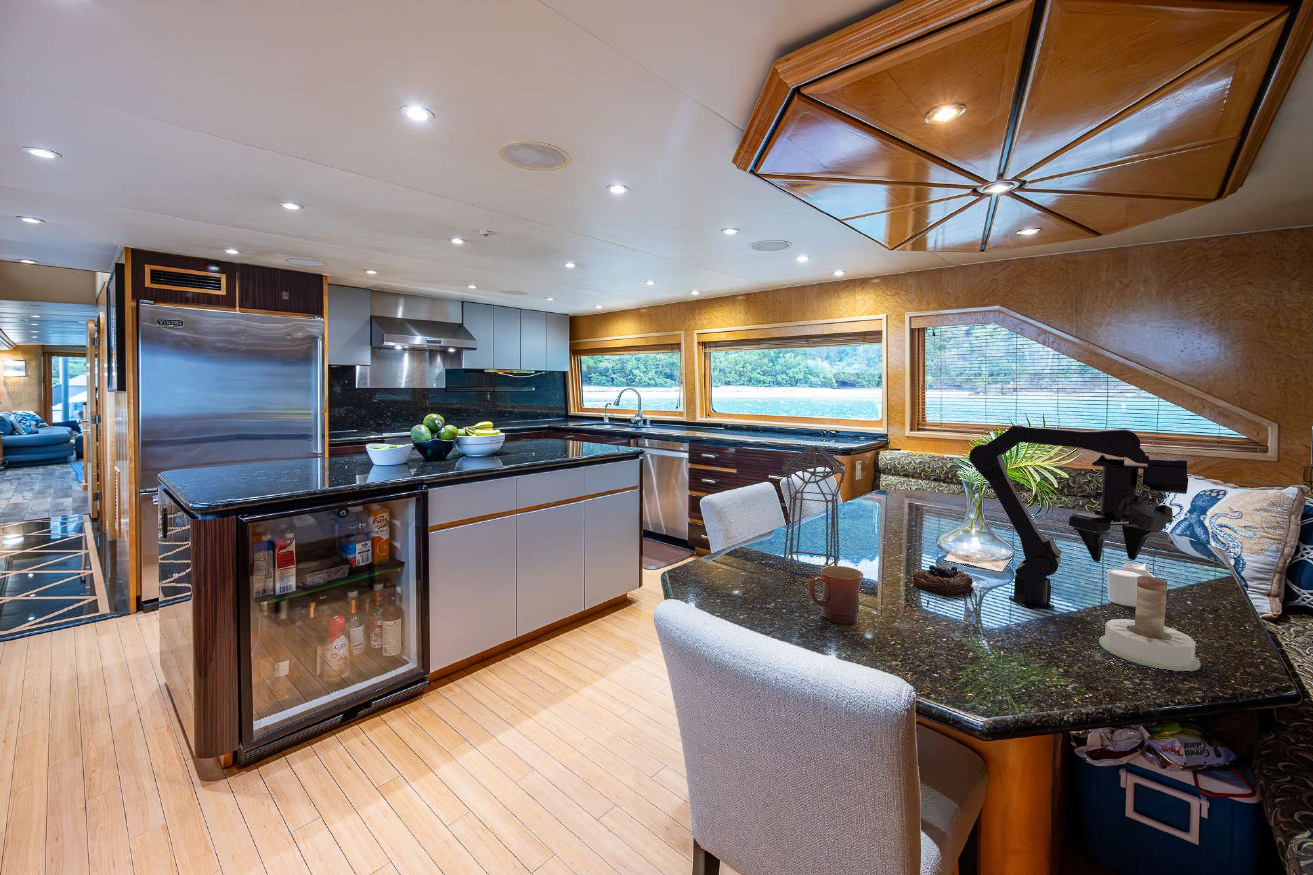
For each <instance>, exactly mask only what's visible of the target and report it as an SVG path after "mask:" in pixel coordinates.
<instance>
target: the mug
mask: <svg viewBox="0 0 1313 875" xmlns="http://www.w3.org/2000/svg"><path fill="white" fill-rule="evenodd" d="M819 572H820V573H819V574H821V576H817V575H816V576H813V577H812V578H810V579H809V580H808V581H809V582H808V586H807V587H808V588H807V590H808V595H809V597H810V600H811V602H813V603H814V604H816V605H818V606H820V607H821V609H822V610H821V611H822V615H823V617H824V618H825V619H826V620H827V621H829V622H831V623H834V624H839V625H850V624H853V623H855V622H857V620H858V617H859V612H860V586H861V583H862V580H863V578H864V573H863V572H862V571H860V570H858V569H857V568H853V567H850V566H841V565H837V566H834V565H831V566H827V567H821V569H819ZM819 581H820V582H823V583H822V586H823V587H822V599H817V598H816V592H815V585H816V584H817V583H816V582H819Z"/></svg>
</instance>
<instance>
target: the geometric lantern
mask: <svg viewBox="0 0 1313 875" xmlns="http://www.w3.org/2000/svg"><path fill="white" fill-rule="evenodd" d="M807 455H808V457H807V460H806V461H805V462H800V460H802V459H803V458H804V457H806V456H807ZM817 455H818V458H819V459H820V461H821V464H822V465H821V464H817ZM812 456H813V460H812V461H813V463H812V464H809V462H810V459H811V458H812ZM822 456H823V457H824V459H825V460H827V462H828V463H829V464H826V463H825V462H824V459H823V457H822ZM795 465H796V466H797V467H793V466H795ZM798 467H799V468H798ZM807 467H812V468H813V471H812V470H808V468H807ZM831 467H832V468H833V469H832V470H827V468H831ZM817 468H822V469H823V470H822V471H817ZM781 469H782V470H783V471H784V474H785V478H786V481H787V488H788V495H789V504H788V505H789V506H788V514H787V523H786V531H785V532H786V533H785V542H784V552H783V558H782V559H783V564H785V566H786V567H788V568H789V569H790V570H791V571H792V572H794V573H793V577H794V578H795V579H798V580H800V576H799V574H801V575H802V574H803V575H812V576H816V577H817V576H821V573H814V572H800V571H798V572H797V570H800V567H801V568H807V569H814V570H815V572H819V571H818V570H820V569H821V568H823V567H827V566H839V561H840V540H839V537H840V536H839V534H840V533H839V513H838V512H839V511H838V510H839V508H838V507H839V504H838V495H839V493H840V489H841V487H842V484H843V483H844V480H845V473H846V469H847V465H846V464H845V463H843V462H842V461H841V460H839V459H838V458H836V457H835V456H833V455H831V454H830V453H829V452H827V451H826V450H824V449H823V448H822V447H821V446H818V445H811V446H809V447H808V448H807V449H805V450H803V452H801V453H799V454H797V455H796V456H795V457H793V458H792V459H791V460H789V461H787V463H786V464H785V465H783V466H782V467H781ZM795 471H798V472H799V471H800V472H801V473H802V477H801V476H800V475H799V474H797V472H795ZM805 473H808V474H809V475H810V476H809V477H808V479H807V481H806V478H805ZM837 474H841V477H840V480H839V481H837V484H836V487H835V489H834V491H833V490H832V489H831V487H830V485H829V483H828V481H827V479H829V478H830V477H833V476H835V475H837ZM792 475H794V476H795V477H797V478H798V479H799V480H800V481H802V483H801V485H800V486H799V487H798V489H797V487H796V484H795V483H794V481H793V480H794V479H793V478H792ZM813 477H814V478H813ZM812 478H813V479H814V480H811V479H812ZM817 478H819V479H817ZM790 480H791V483H792V485H793V487H794V490H795V491H793V492H791V486H790V485H791V484H790ZM822 481H824V483H825V484H826V485H827V488H829V491H830V493H829V492H824V491H823V489H822V488H821V486H820V484H819V483H820V482H822ZM808 484H816V485H817V488H818V490H819V491H820V492H813V491H804V490H805V488H807V486H808ZM798 494H800V497H797V496H798ZM804 494H811V495H812V494H817V495H822V496H823V498H824V500H823V499H813V498H803V497H804ZM827 495H829V496H831V499H830V500H829V499H828V498H827ZM797 500H799V501H800V502H799V514H798V515H799V516H798V529H797V538H796V540H797V541H796V542H797V543H796V551H795V550H794V535H795V534H794V530H795V528H794V527H795V518H796V517H795V515H796V508H797V507H796V506H797ZM803 501H811V502H821V503H822V502H823V503H825V553H819V552H809V551H800V550H799V548H800V537H801V523H802V513H803V509H802V508H803ZM829 503H831V513H830V514H831V518H830V519H831V520H830V539H829ZM791 513H792V514H791ZM790 521H791V530H790ZM789 530H790V539H789ZM789 540H790V541H789ZM829 540H830V541H829ZM788 541H789V548H788ZM829 542H830V544H829ZM787 549H788V550H787ZM787 551H788V553H787ZM794 554H796V559H795V558H794V556H793V555H794ZM798 554H803V555H811V556H821V557H825V563H824V565H823V564H815V563H814V564H812V563H801V562H800V560H799V555H798ZM788 558H790V559H789V561H787V560H788ZM830 558H833V561H832V562H831V563H829V560H830ZM796 560H797V561H796ZM793 562H794V563H793ZM816 570H817V571H816ZM796 575H797V576H796ZM819 582H820V583H819V584H823V582H821V581H819Z"/></svg>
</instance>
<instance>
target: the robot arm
mask: <svg viewBox="0 0 1313 875" xmlns="http://www.w3.org/2000/svg"><path fill="white" fill-rule="evenodd" d="M1020 443H1025V444H1026V443H1027V444H1037V445H1046V446H1047V445H1048V446H1056V447H1057V446H1058V447H1067V448H1068V447H1070V448H1080V449H1084V450H1088V451H1093V452H1095V453H1098V454H1099V453H1100V456H1099V457H1098V458H1097V459H1096V460H1093V461H1092V462H1091V465H1092V466H1093V467H1102V480H1101V490H1097V491H1096V492H1095V496H1096V497H1100V506H1099V508H1100V509H1095V510H1094V514H1093V513H1088V512H1078V513H1077V512H1076V513H1072V514H1071V515H1069V516H1068V526H1069V527H1073V530H1074V531H1077V533H1078V535H1079V536H1080V538H1081V540H1082V541H1083V544H1084V546H1085V547H1086V549H1087V551H1088V553H1089V554H1090V557H1091V559H1092V561H1093V562H1095V563H1100V562H1101V558H1102V554H1103V548H1104V547H1103V546H1104V540H1105V539H1106V538H1107V537H1109V535H1111V534H1112V533H1111V532H1109V530H1110V529H1111V526H1121V528H1122V533H1123V540H1124V545H1125V550H1126V555H1127V559H1128V560H1131V561H1136V559H1137V558H1138V556H1139V554H1140V552H1141V550H1142V548H1143V546H1144V545H1145V543H1146V541H1147V539H1148V538H1149V537H1151V536H1152V535H1155V534H1158V533H1160V532H1161V531H1163V530H1165V529H1166V528H1167V524H1172V523H1173V515H1174V514H1173V507H1170V506H1169V505H1167V504H1158V505H1156V506H1154V505H1148V504H1147V503H1145V502H1144V496H1143V495H1142V494H1138V484H1139V483H1138V482H1139V481H1138V480H1139V470H1140V469H1141V470H1142V477H1141V486H1144V487H1146V488H1148V492H1157V493H1158V492H1159V493H1169V494H1170V493H1171V494H1182V495H1187V493H1188V488H1189V487H1188V486H1189V477H1188V461H1187V460H1186V459H1157V458H1151V457H1150V454H1149V453H1146V452H1145V450H1144V449H1142V448H1141V440H1140V438H1139V435H1137V433H1136V432H1134V431H1133V430H1130V429H1128V428H1127V429H1126V428H1118V429H1114V428H1113V429H1100V430H1099V429H1098V430H1086V431H1085V430H1074V429H1073V430H1071V429H1061V428H1048V427H1036V426H1025V425H1023V424H1016V425H1012V426H1010V427H1009V428H1008V429H1007V430H1006V431H1004V432H1003V433H1001V434H1000V435H998V436H997V437H996V438H993V439H992V440H991V441H989V442H988V443H983V444H979V445H976V446H974V447H973V448H972V449H971V450H970V452H969V455H968V458H969V461H970V462H969V463H970V464H971V465H972V466H973V467H974V468H975V469H976V471H977V472H978V473H979V474H980V475H981V477H983V478H984V479H985V480H986V481H987V483H989V485H990V486H991V488H992V490H993V492H994V493H995V496H996V497H997V499H998V500H999V503H1000V504H1001V506H1002V508H1003V510H1004V511H1005V514H1006V515H1007V517H1008V518H1009V520H1010V523H1011V524H1012V526H1013V528H1014V529H1015V531H1016V533H1017V535H1018V537H1019V539H1020V542H1021V547H1022V553H1023V555H1024V558H1025V559H1024V560H1022V561H1021V562H1020V563H1019V564H1018V566H1017V567H1016V569H1015V570H1014V571H1015V574H1014V587H1013V588H1014V589H1013V590H1014V591H1013V595H1009V596H1008V599H1009V600H1011V601H1013V602H1016V603H1017V604H1019V605H1021V606H1024V607H1025V608H1027V609H1046V608H1047V609H1050V608H1051V609H1052V608H1055V605H1054V604H1053V603H1051V602H1052V601H1051V599H1052V598H1051V597H1052V596H1051V595H1052V584H1051V578H1048V577H1049V576H1052V575H1055V573H1057V571H1058V569H1059V566H1060V565H1061V561H1062V558H1061V555H1062V550H1061V549H1060V548H1059V547H1058V545H1056V541H1055V538H1054V537H1053V535H1050V536H1048V537H1046V536H1045V535H1044V534H1043V533H1041V532H1040V530H1039V529H1038V527H1037V525H1036V523H1035V522H1034V520H1033V519H1032V516H1031V514H1030V513H1029V510H1028V509H1027V507H1026V506H1025V504H1024V503H1023V500H1022V499H1021V497H1020V495H1019V493H1018V492H1017V490H1016V488H1015V486H1014V485H1013V483H1012V480H1011V478H1010V477H1009V474H1008V471H1007V466H1006V463H1005V459H1004V457H1003V455H1004V454H1006V453H1008V452H1009V451H1010V450H1011V449H1013V448H1014V447H1016V446H1018V444H1019V445H1020ZM1106 455H1109V456H1112V457H1117V458H1107V457H1106ZM1118 458H1119V459H1118ZM1120 458H1127V459H1129V460H1131V461H1132V462H1134V463H1136V464H1131V463H1130V464H1128V463H1125V459H1120ZM1142 464H1143V465H1142Z"/></svg>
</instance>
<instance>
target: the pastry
mask: <svg viewBox="0 0 1313 875" xmlns="http://www.w3.org/2000/svg"><path fill="white" fill-rule="evenodd" d="M912 579H913V585H914V586H915V587H916V588H918V589H921V590H922V591H926V592H928V593H931V594H935V595H938V596H941V595H942V597H944V598H945V597H946V598H951V597H958V596H957V595H959V596H964V594H965V595H968V594H971V593H972V594H974V591H975V588H974V587H973V586H972V585H973V584H974V583H973V581H974V580H973V577H970V576H969V574H967V573H965V571H963V570H958V567H957V566H952V567H951V568H949V567H948V566H945V565H941V566H936V565H933V564H931V565H929V566H928V569H924V568H923V569H920V570H917V571H915V573H914V574H913V577H912ZM967 593H968V594H967Z"/></svg>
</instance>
